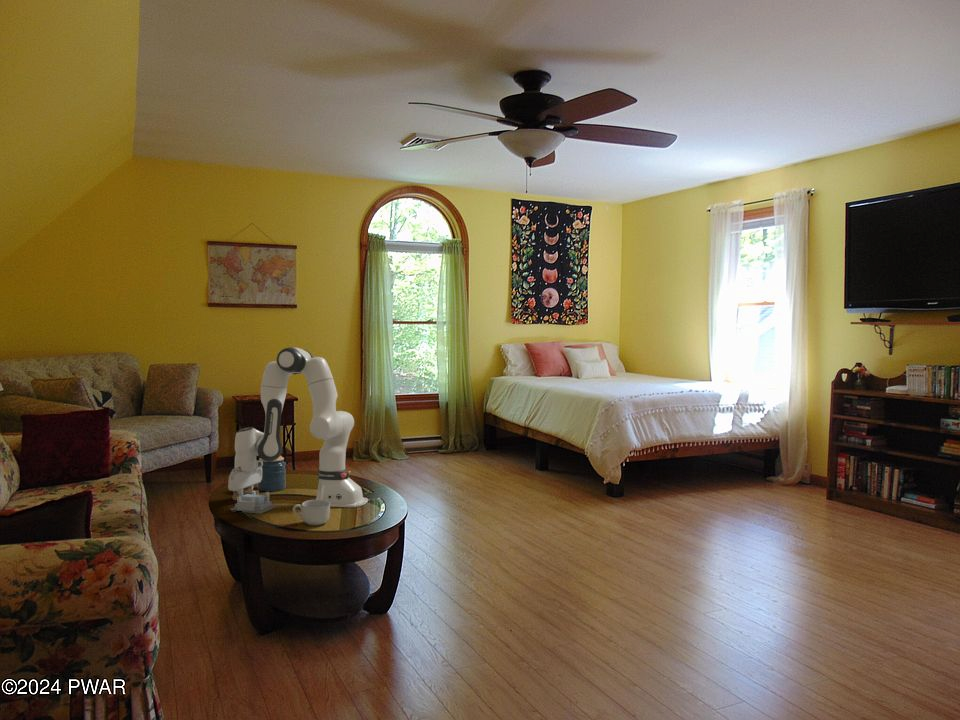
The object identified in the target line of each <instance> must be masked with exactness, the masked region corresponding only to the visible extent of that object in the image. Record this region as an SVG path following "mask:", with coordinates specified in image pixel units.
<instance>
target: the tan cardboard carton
mask: <svg viewBox="0 0 960 720" xmlns="http://www.w3.org/2000/svg"><path fill="white" fill-rule="evenodd" d="M252 491H256V495H260V490H258V489H253V490H248V489H246V488H243V494H244V495H246V494H252ZM232 493H233V494H232V501H233V500H237V497H239V494H238V492H237V491H232Z"/></svg>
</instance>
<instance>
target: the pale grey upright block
mask: <svg viewBox="0 0 960 720" xmlns="http://www.w3.org/2000/svg"><path fill="white" fill-rule="evenodd" d="M264 496H265V495H264V494H263V495H262V494H259V495H253V494H246V495H243V496H241V501H251V498H255V505H262V504H264Z"/></svg>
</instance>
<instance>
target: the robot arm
mask: <svg viewBox="0 0 960 720" xmlns="http://www.w3.org/2000/svg"><path fill="white" fill-rule="evenodd" d="M299 374H303V375H304V376H305V379H306V383H307V386H308V390H309V393H310V394H309V395H310V398H311V401H312V419H311V422H310V423H309V432H310V434H311V435H312V436H313V437H314V439H315V438H316V439H319V440H323V445H322V447H321V448H320V450H319V453H318V454H319V456H318V457H319V459H318V460H319V462H318V463H319V464H318V465H319V469H318V473H317V479H318V488H317V494H316V496H315V497H316V498H315V500H326V501H329V502H330V503H331V504H330V508H331V507H332V508H358V507H361V506H364V505H365V504H367V503H368V501H369V499H368V498H367V497H364V495H363V490H362V487H361V486H360V485H359V484H358V483H356V482H355V481H354V480H353V479H351V478H350V474H351V470H349V471H348V470H347V468H346V457H347V456H346V452H347V448H348V447H347V446H348V442H349V439H350V436H351V435H350V434H351V432H352V430H353V428H354V426H355V418H354V416H353V415H352V414H351V413H350V412H348V411H344V410H337V405H336V404H337V399H338V397H339V395H338V390H337V387H336V384H335V383H336V382H335V380H334V376H333V374H332V371H331V368H330V366H329V364H328V362H327V360H326V359H325V358H324V357H321V356H313V354H311V352H310V351H308V350H306V349H303V348H300V347H291V346H288V347H285V348H282V349H281V350H280V351H279V352H278V353H277V356H276V360H275V361H274V360H273V361H269V362H268V363H266V365H265V368H264V371H263V374H262V378H261V385H260V401H261V404H262V406H263V410H264V414H265V415H264V416H265V421H264V430H263V432H262V431H260V430H258V429H256V428H255V427H253V426H251V427H249V426H247V427H243V428H241V429H239V430H238V431H237V432H236V434H235V437H234V452H235V456H234V468H233V469H231V471H230V474H228V475H229V476H228V483H227V486H228V487H227V488H228V490H229V491H230V492H233V491H237V492H238V494H239V497H241V496H243V495H244V494H243V489H246V488H247V490H254V485H257V483H259V482H261V480H262V466H263V462H262V461H260V460H259V459H260V458H261V459H262V460H264V461H274V460H276V459H278V458H279V457H280V455H281V456H282V453H283V445H282V441H281V439H280V431H281V422H282V413H283V408H284V404H285V401H286V397H287V392H288V384H289V378H290V377H291V376H292V375H299ZM258 456H259V459H258V460H257V457H258Z"/></svg>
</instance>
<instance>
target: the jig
mask: <svg viewBox="0 0 960 720" xmlns="http://www.w3.org/2000/svg"><path fill="white" fill-rule="evenodd" d="M252 494H253V495H256V491H252ZM276 506H277V505H276V504H273V503H272V501H270V491H265V495H264V504H262V505H255V498H251V501H241V497H237V502H236V503H234V506H233V507H231V508H229V510H237V511H242V512H241V513H246V514H247V513H248V514H260V515H262V514H263V513H266V512H268V511H270V510H273V509H275V508H277V507H276Z"/></svg>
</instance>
